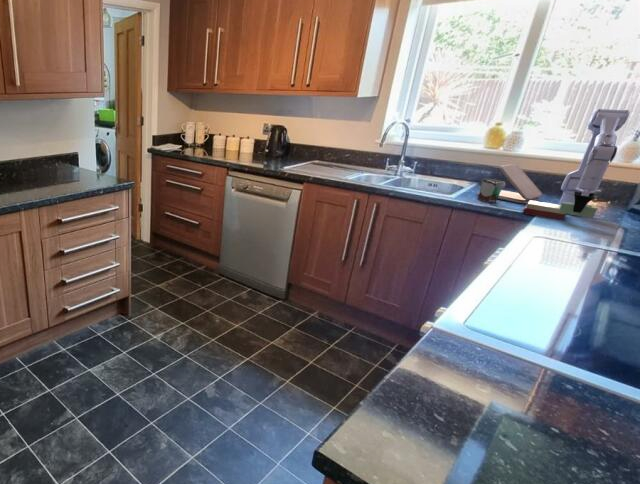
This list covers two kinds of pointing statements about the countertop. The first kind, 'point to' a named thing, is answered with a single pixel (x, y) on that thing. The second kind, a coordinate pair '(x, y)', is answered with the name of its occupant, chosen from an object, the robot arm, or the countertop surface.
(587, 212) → the green block
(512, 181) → the case
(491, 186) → the food container
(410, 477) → the countertop surface
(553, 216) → the book stack
